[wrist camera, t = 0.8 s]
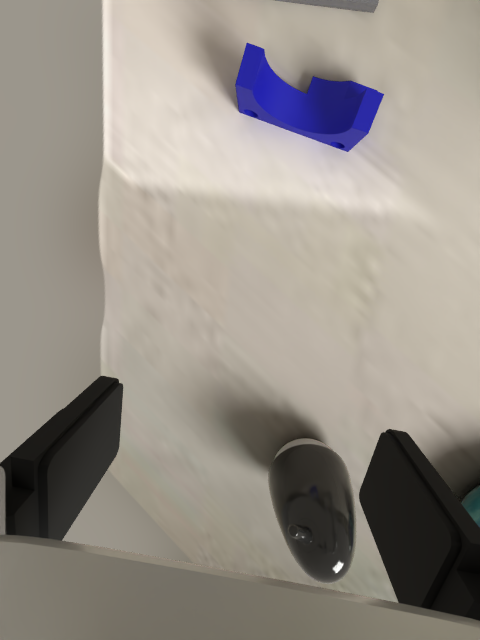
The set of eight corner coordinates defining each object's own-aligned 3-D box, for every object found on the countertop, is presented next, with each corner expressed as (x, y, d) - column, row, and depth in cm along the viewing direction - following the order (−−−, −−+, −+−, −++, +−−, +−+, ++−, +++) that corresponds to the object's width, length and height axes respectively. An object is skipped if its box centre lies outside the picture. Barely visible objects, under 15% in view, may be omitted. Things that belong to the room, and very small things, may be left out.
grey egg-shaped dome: (309, 411, 39) (341, 514, 25) (354, 461, 41) (408, 586, 26) (251, 450, 41) (248, 567, 27) (296, 497, 43) (317, 629, 29)
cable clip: (365, 104, 30) (392, 73, 24) (347, 152, 31) (368, 133, 25) (253, 63, 29) (253, 20, 23) (239, 113, 30) (235, 84, 25)
